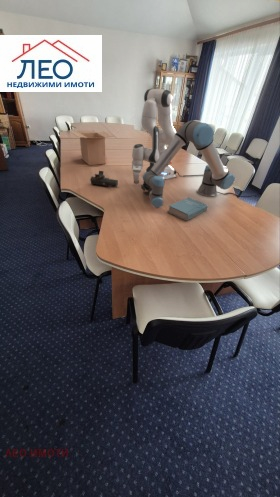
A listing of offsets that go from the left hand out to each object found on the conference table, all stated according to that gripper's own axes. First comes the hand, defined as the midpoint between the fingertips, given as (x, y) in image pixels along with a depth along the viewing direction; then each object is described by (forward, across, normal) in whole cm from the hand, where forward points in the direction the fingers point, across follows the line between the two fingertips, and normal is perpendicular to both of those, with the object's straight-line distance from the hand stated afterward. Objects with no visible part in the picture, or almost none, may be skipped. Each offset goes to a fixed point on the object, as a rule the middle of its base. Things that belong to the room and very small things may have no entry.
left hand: (136, 183), depth 186 cm
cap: (-2, 0, 0) cm, 2 cm away
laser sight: (+2, +6, -26) cm, 27 cm away
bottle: (+2, +14, +12) cm, 18 cm away
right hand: (-4, +9, +11) cm, 15 cm away
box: (+2, -61, -51) cm, 79 cm away
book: (+2, +42, +38) cm, 57 cm away
